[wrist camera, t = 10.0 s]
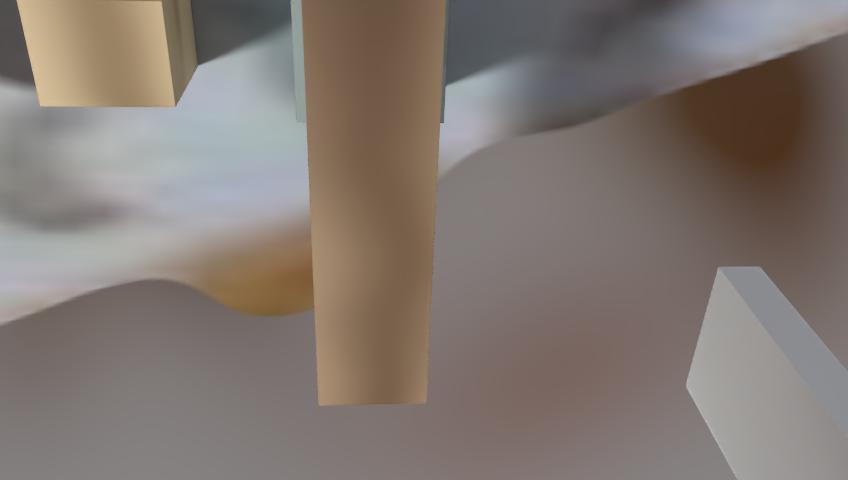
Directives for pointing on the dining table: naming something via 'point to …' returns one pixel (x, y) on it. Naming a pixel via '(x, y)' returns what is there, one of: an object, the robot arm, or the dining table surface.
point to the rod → (373, 192)
